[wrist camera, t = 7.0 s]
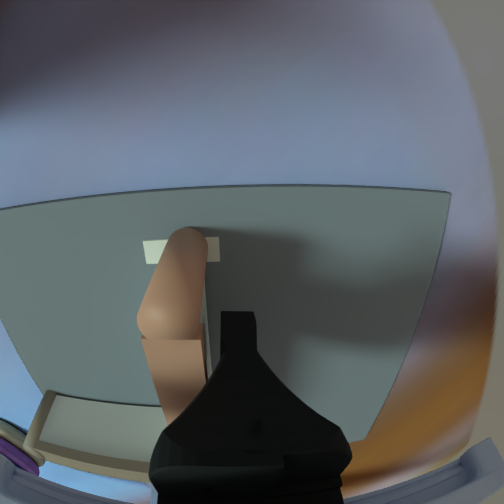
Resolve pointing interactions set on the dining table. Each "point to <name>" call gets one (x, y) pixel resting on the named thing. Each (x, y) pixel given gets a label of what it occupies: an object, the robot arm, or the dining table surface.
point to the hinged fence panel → (177, 322)
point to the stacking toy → (17, 449)
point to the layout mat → (227, 285)
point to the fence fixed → (95, 436)
